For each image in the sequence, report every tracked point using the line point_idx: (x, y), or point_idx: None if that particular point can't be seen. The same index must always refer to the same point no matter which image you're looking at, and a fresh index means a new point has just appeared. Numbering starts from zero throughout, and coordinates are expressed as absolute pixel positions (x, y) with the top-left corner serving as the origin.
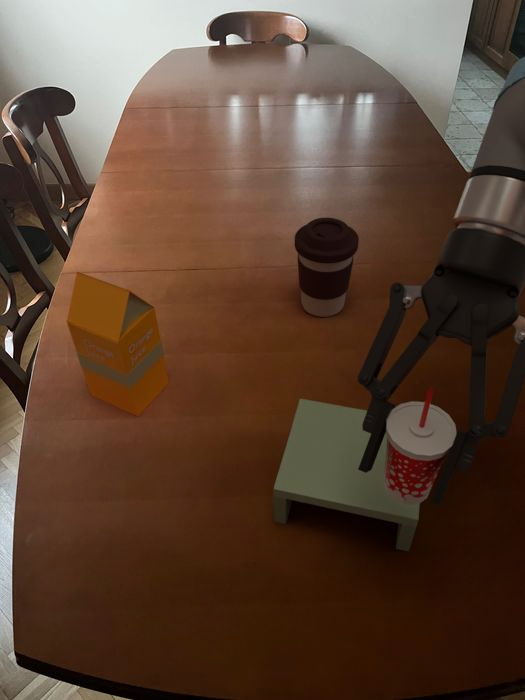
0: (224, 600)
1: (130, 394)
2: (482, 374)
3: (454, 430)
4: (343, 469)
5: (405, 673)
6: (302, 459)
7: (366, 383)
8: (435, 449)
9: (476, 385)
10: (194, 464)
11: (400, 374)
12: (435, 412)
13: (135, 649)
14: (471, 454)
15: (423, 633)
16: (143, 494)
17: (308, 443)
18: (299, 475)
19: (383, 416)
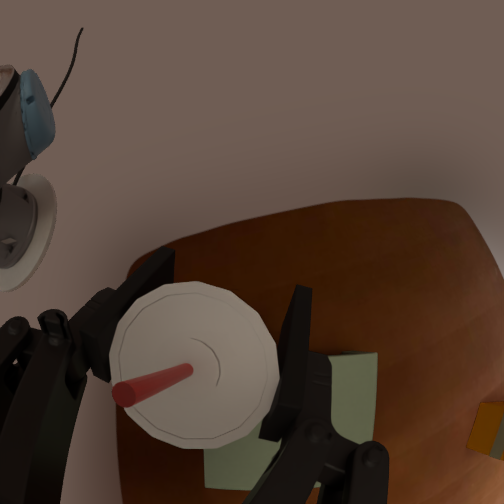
0: (371, 263)
1: (500, 405)
2: (2, 452)
3: (113, 368)
4: None
5: (212, 241)
6: (353, 403)
7: (362, 447)
8: (153, 307)
9: (22, 430)
10: (433, 381)
11: (265, 493)
12: (157, 421)
13: (410, 214)
14: (86, 308)
15: (198, 276)
16: (458, 334)
17: (350, 426)
18: (353, 380)
19: (291, 375)
